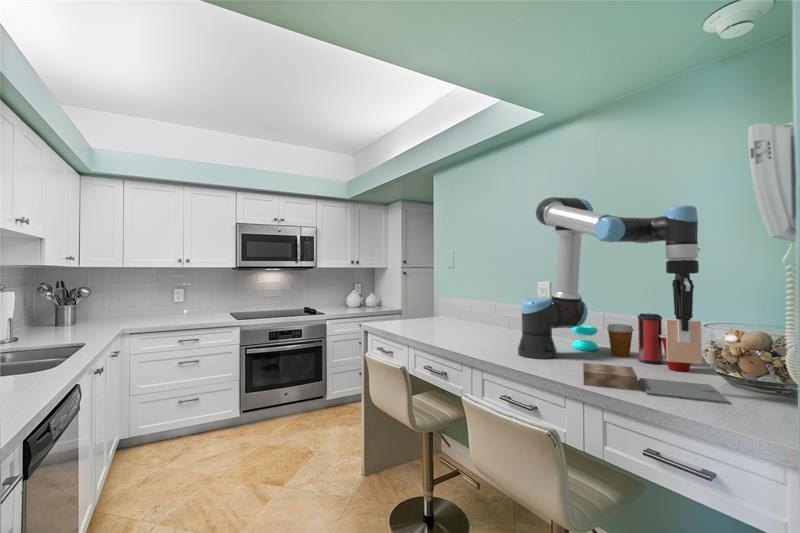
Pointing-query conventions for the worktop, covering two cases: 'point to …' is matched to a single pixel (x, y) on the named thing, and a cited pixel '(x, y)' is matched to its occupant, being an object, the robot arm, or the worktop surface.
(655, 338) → the speaker
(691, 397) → the mat
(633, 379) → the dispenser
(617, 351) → the disposable coffee cup
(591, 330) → the turquoise double disc piece
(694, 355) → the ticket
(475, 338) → the worktop surface
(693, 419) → the worktop surface
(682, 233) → the robot arm
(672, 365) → the plastic cup
